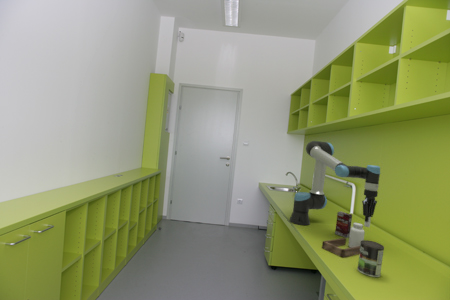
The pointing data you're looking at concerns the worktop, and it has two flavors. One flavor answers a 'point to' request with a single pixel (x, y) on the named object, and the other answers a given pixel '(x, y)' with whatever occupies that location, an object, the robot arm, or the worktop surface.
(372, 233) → the worktop surface
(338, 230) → the supplement box
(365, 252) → the coffee can
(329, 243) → the frame
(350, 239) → the pill bottle
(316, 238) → the worktop surface
